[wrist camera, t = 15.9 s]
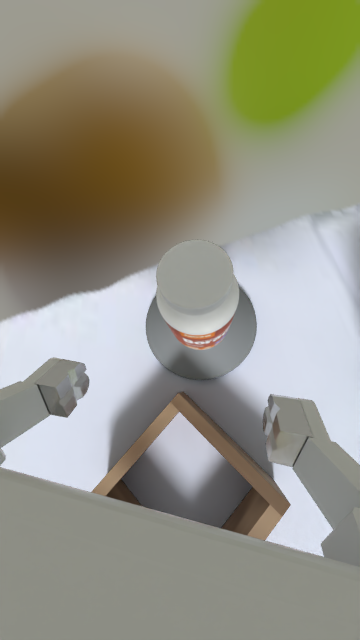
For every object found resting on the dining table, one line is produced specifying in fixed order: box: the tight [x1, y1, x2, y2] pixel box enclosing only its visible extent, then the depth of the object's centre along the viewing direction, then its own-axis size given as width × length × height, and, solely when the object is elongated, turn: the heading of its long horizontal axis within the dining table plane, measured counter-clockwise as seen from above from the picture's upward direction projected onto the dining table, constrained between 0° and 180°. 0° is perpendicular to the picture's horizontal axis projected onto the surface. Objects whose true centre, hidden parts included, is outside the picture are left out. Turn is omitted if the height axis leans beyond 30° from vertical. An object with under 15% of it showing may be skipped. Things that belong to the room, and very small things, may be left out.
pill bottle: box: [156, 240, 239, 350], centre depth 18 cm, size 6×6×11 cm
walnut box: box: [92, 391, 290, 540], centre depth 18 cm, size 11×11×4 cm
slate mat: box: [146, 288, 257, 380], centre depth 24 cm, size 12×12×1 cm
